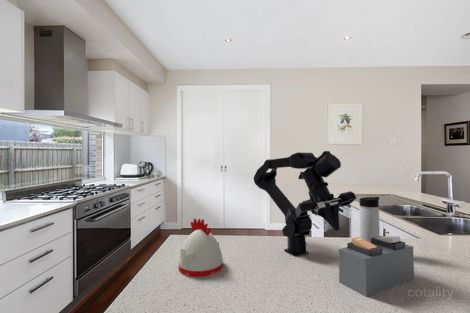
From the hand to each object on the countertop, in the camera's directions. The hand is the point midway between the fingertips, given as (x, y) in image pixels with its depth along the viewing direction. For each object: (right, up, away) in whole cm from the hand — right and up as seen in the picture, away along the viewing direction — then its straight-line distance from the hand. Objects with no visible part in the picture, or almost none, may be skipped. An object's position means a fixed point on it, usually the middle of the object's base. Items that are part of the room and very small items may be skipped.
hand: (337, 230), depth 73 cm
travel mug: (+19, -13, +16) cm, 27 cm away
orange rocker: (+4, -1, -8) cm, 9 cm away
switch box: (+8, -12, -6) cm, 16 cm away
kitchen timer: (-42, -13, +4) cm, 44 cm away
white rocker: (+13, -1, -3) cm, 13 cm away
